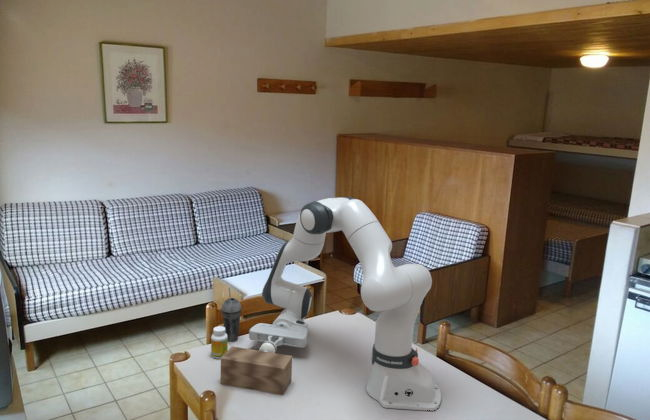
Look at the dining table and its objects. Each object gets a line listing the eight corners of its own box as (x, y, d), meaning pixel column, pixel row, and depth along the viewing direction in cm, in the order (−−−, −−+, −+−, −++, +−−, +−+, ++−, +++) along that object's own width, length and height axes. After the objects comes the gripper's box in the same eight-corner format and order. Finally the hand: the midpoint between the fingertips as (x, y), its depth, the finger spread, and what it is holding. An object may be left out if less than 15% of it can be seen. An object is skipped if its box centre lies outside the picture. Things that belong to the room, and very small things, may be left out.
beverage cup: (245, 338, 181) (246, 286, 177) (231, 346, 175) (232, 292, 171) (230, 333, 185) (231, 281, 181) (216, 340, 179) (216, 287, 175)
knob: (276, 356, 162) (277, 341, 161) (267, 370, 154) (267, 354, 153) (261, 353, 164) (262, 339, 162) (251, 367, 155) (251, 352, 154)
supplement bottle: (223, 360, 165) (223, 333, 163) (208, 358, 166) (208, 331, 164) (229, 352, 170) (230, 326, 168) (215, 350, 171) (215, 324, 169)
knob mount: (291, 381, 154) (292, 356, 153) (283, 395, 147) (284, 368, 145) (231, 370, 159) (231, 346, 157) (220, 383, 151) (220, 358, 150)
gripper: (257, 316, 179) (241, 332, 166) (312, 323, 174) (300, 341, 161) (256, 332, 180) (241, 349, 167) (311, 340, 176) (300, 359, 162)
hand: (271, 345), depth 164 cm, fingers closed
